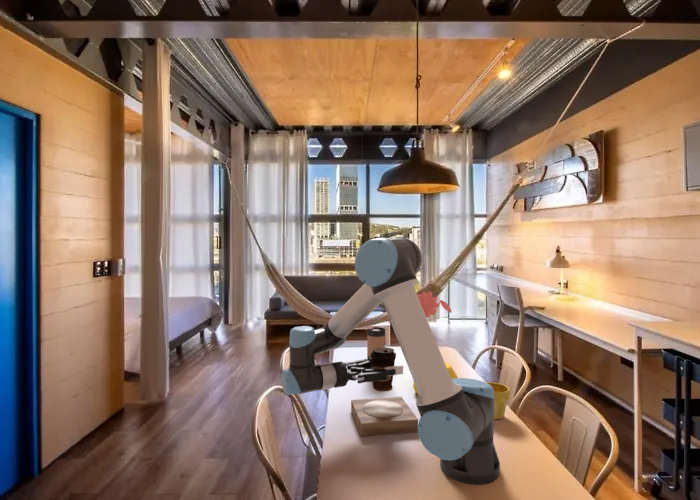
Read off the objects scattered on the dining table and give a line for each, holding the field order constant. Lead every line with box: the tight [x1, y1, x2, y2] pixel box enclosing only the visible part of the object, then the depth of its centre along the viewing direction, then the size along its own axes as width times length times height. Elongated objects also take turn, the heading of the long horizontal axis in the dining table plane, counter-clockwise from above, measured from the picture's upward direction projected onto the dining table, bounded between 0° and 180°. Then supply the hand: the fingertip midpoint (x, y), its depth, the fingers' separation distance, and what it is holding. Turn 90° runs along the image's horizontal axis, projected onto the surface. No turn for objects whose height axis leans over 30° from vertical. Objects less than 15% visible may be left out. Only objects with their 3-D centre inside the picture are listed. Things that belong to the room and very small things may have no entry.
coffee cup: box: [371, 347, 397, 392], centre depth 135 cm, size 9×8×13 cm
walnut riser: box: [350, 396, 419, 438], centre depth 136 cm, size 18×18×4 cm
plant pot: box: [486, 382, 511, 420], centre depth 140 cm, size 10×10×10 cm
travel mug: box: [366, 326, 386, 369], centre depth 180 cm, size 8×8×20 cm
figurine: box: [416, 291, 452, 318], centre depth 191 cm, size 15×26×35 cm, turn 100°
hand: (395, 365), depth 137 cm, fingers closed on coffee cup, 7 cm apart
